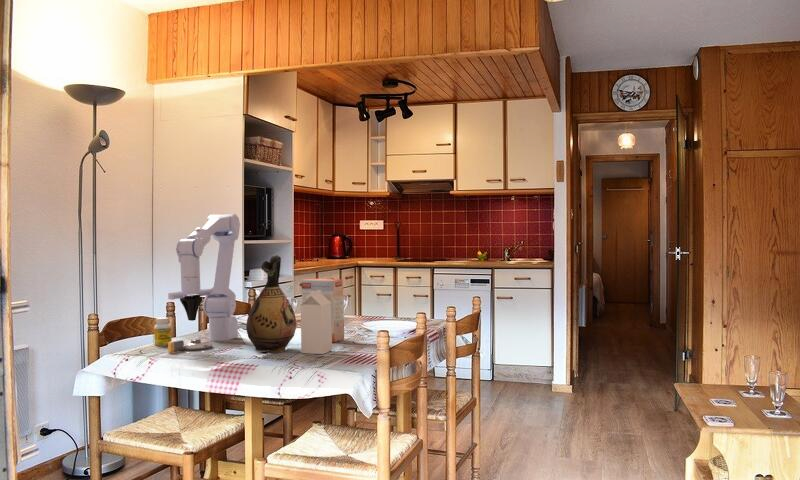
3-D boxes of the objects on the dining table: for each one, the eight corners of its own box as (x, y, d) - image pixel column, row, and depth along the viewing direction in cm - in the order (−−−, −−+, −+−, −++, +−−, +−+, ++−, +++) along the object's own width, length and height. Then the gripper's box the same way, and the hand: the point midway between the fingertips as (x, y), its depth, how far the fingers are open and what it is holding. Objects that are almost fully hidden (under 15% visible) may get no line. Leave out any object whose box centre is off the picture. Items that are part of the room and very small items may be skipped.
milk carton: (332, 350, 209) (330, 290, 209) (322, 354, 203) (320, 292, 202) (311, 349, 212) (310, 289, 211) (301, 353, 205) (299, 292, 204)
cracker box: (345, 340, 228) (344, 278, 227) (334, 343, 223) (333, 280, 222) (313, 337, 235) (312, 277, 235) (302, 339, 230) (300, 279, 230)
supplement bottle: (169, 344, 225) (168, 316, 225) (173, 347, 221) (172, 318, 220) (152, 346, 222) (152, 318, 222) (156, 349, 218) (155, 319, 217)
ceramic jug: (290, 355, 203) (288, 256, 202) (240, 355, 204) (238, 257, 203) (302, 345, 220) (300, 254, 219) (256, 345, 221) (254, 254, 220)
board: (196, 343, 226) (196, 340, 226) (241, 348, 217) (241, 344, 217) (148, 354, 209) (148, 350, 209) (195, 359, 199) (195, 355, 199)
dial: (199, 343, 220) (199, 334, 220) (218, 346, 214) (218, 336, 214) (160, 350, 208) (159, 340, 208) (179, 354, 202) (179, 343, 202)
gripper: (203, 274, 218) (204, 316, 218) (162, 278, 207) (163, 322, 207) (216, 275, 213) (217, 318, 213) (174, 279, 202) (176, 324, 202)
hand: (191, 320), depth 210 cm, fingers closed
